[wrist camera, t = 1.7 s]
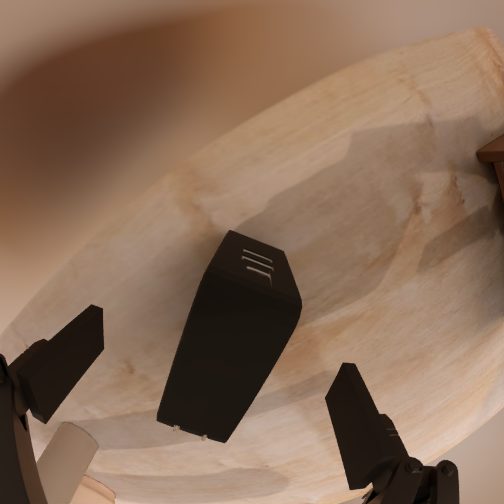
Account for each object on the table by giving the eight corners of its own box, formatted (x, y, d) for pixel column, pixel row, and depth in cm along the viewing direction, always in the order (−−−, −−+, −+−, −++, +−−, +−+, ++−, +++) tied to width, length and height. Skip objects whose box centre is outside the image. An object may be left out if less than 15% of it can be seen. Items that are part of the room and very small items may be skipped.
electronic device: (283, 248, 20) (307, 310, 10) (234, 355, 22) (223, 448, 13) (229, 227, 20) (203, 271, 10) (188, 338, 22) (152, 425, 12)
